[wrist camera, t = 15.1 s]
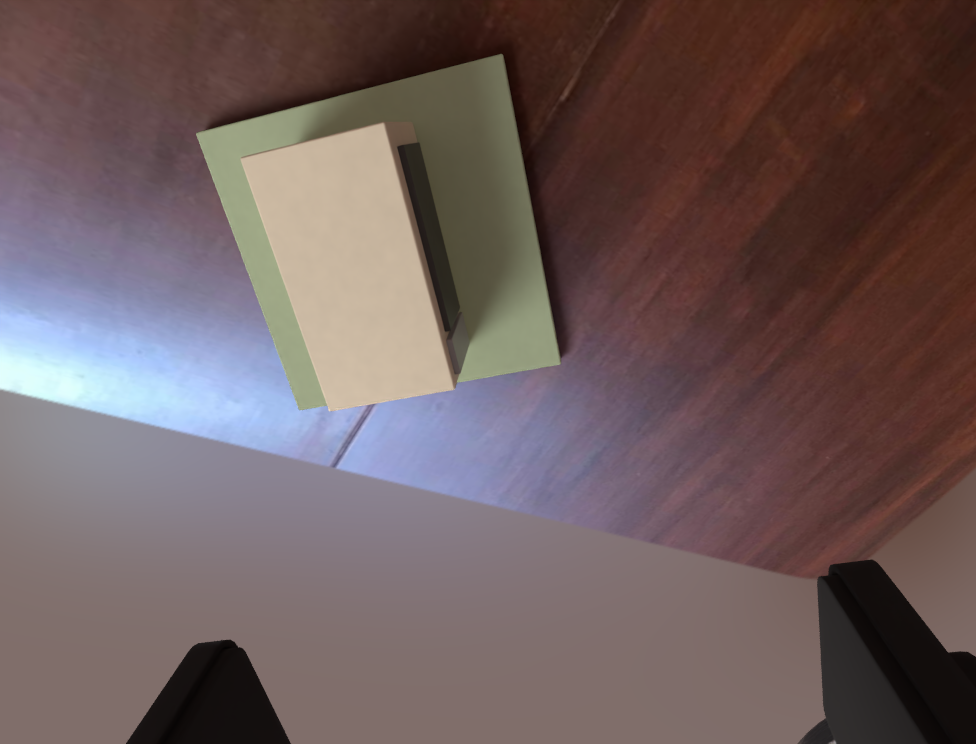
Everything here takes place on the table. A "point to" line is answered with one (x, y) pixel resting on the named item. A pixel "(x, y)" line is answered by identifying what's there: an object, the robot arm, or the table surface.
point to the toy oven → (363, 262)
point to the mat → (458, 200)
